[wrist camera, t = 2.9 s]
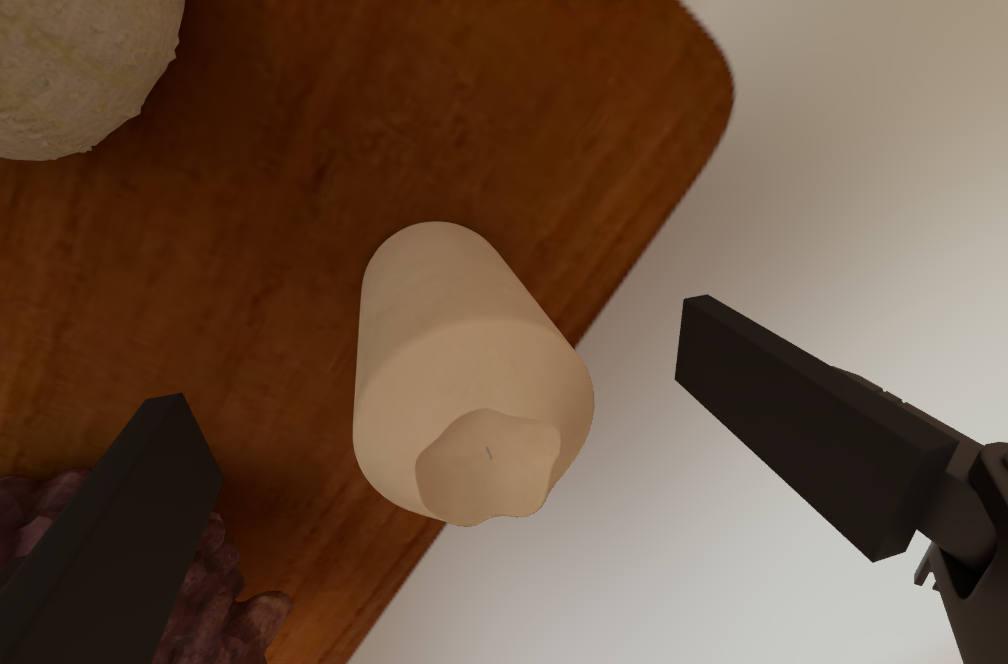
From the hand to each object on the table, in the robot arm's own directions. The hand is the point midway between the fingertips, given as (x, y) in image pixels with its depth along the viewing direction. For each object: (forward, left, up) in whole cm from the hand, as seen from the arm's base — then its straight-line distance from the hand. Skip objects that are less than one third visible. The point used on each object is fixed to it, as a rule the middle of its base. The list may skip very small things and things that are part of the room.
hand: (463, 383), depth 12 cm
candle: (0, 0, -7) cm, 7 cm away
